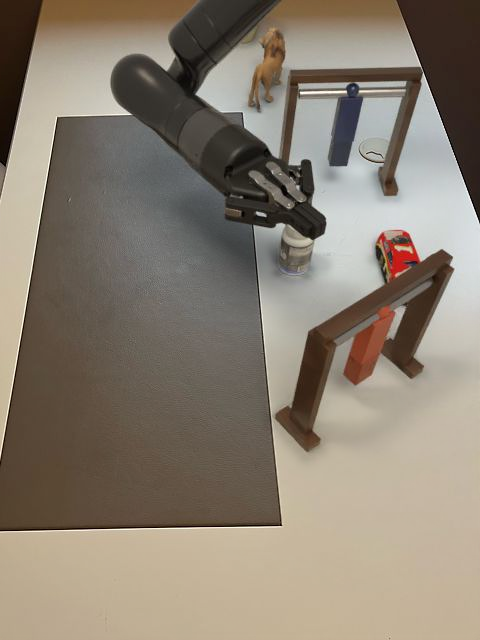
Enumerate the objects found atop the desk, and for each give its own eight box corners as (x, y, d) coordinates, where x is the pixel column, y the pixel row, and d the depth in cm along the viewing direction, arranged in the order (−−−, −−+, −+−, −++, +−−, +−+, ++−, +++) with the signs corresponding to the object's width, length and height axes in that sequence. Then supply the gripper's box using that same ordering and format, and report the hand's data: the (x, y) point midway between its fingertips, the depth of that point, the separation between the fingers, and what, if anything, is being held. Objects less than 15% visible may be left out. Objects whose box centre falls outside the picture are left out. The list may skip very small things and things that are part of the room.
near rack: (274, 418, 78) (293, 317, 62) (388, 342, 84) (431, 234, 68) (307, 452, 75) (335, 356, 59) (422, 371, 81) (475, 265, 65)
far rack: (270, 175, 104) (282, 61, 89) (389, 172, 104) (423, 58, 89) (273, 198, 101) (286, 84, 85) (396, 195, 101) (433, 81, 85)
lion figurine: (258, 69, 123) (261, 22, 115) (284, 72, 122) (290, 24, 115) (245, 112, 115) (248, 63, 107) (273, 115, 114) (278, 67, 107)
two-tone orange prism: (304, 399, 74) (321, 330, 63) (394, 339, 79) (424, 265, 68) (316, 412, 73) (336, 343, 62) (407, 350, 78) (440, 277, 67)
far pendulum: (288, 159, 100) (299, 80, 89) (383, 156, 100) (405, 78, 89) (290, 167, 99) (300, 89, 88) (386, 165, 99) (408, 86, 88)
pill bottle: (276, 253, 94) (282, 209, 87) (308, 254, 94) (316, 209, 87) (278, 276, 91) (284, 232, 84) (310, 277, 91) (319, 233, 84)
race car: (428, 307, 88) (437, 288, 84) (389, 308, 88) (397, 289, 84) (407, 242, 95) (415, 221, 92) (371, 243, 95) (378, 222, 92)
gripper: (177, 145, 70) (277, 230, 62) (267, 105, 75) (372, 178, 67) (179, 199, 77) (270, 282, 69) (262, 159, 81) (357, 232, 73)
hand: (320, 231), depth 68 cm, fingers closed
